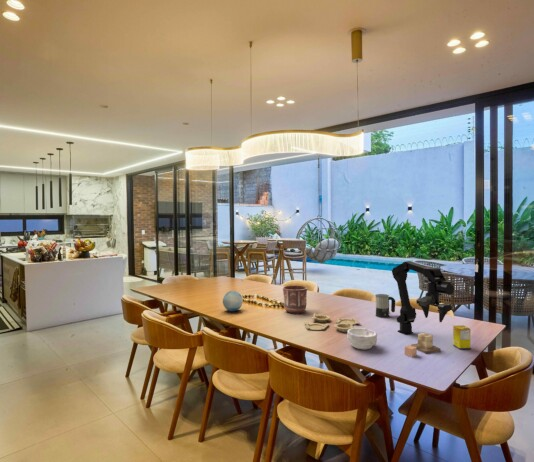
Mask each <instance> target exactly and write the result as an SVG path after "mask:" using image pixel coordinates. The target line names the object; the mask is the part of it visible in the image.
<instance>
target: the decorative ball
mask: <svg viewBox="0 0 534 462" xmlns="http://www.w3.org/2000/svg"><path fill="white" fill-rule="evenodd" d="M243 302H244V300H243V296H242V294H241V293H239V292H238V291H236V290H235V291H234V290H231V291H227V292H226V293H225V294H224V296H223V298H222V305H223V307H224V308H225V310H227V311H229V312H237V311H238V310H240V309H241V307H242V306H243Z"/></svg>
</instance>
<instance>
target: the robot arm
mask: <svg viewBox="0 0 534 462" xmlns="http://www.w3.org/2000/svg"><path fill="white" fill-rule="evenodd" d="M410 271H413V272H416V273H420V274H421V275H422V276H423V277H424V278H426V279H424V283H427V292H425V296H422V297H418V298H417V299H416V301H415V302H416V304H417V305H418V306H419V307H420V308H421V309H422V312H423V314H424V318H425V319H426V318H428V317H429V312H430V307H431V306H432V307H435V308H437V312H438V316H439V317H438V318H439V319H438V320H439V323H442V322H443V320H444V318H445V317H446V315H447V314H448V312H451V311H453V306H452V305H451V304H449V303H446V302H445V303H442V300H440V296H442V294H444V295H447V296H450V295H453V294H454V291H455V288H454V286H453V284H452V281H448V280H447V279H446V278H445V276H444V274H443V273H442V271H441V269H440V268H439V267H432V266H431V267H430V266H429V267H428V266H425V265H423V264H422V265H421V264H419V263H416V262H413V261H411V260H407V261H406V260H405V261H404V262H402V263H400V264H399V265H397V266H395V267H393V268H392V270H391V273H392V277H393V279H394V280H395V281H396V285H397V289H398V294H399V299H400V304H401V307H400V309H399V315H398V316H397V318H396V322H397V323H399V330H397V332H398V333H401V334H402V335H403V334H404V335H412V334H414V331H413V328H412V327H413V326H412V323H414V322H415V320H416V318H417V311H416V308H415V307H413V306H412V304H411V301H410V295H409V292H408V291H409V290H408V285H407V281H406V280H407V278H408V273H409V272H410Z"/></svg>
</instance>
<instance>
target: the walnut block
mask: <svg viewBox="0 0 534 462" xmlns="http://www.w3.org/2000/svg"><path fill="white" fill-rule="evenodd" d="M410 346H414V347H417V351H418V352H421V353H422V354H425V355H427V354H431V353H437V352H441V348H440V347H438V346H436V345H433V347H431V348H428V349H425V348H423V347H420V346H418V342H417V343H412V344H410Z"/></svg>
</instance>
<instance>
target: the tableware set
mask: <svg viewBox="0 0 534 462" xmlns="http://www.w3.org/2000/svg"><path fill="white" fill-rule="evenodd" d="M311 319H312V320H315V321H316V322H315V323H314V322H313V323H311V322H304V323H303V324H304V325H305V327H304V328H306V329H307V330H311V331H322V330H326V329H327V327H328V326H330V323H327V321H328V320H330V319H331V316H330V315H325V314H317V313H316V312H314V313H313V316H311ZM323 323H325V324H323ZM357 324H358V325H360V324H361V322H360V321H358V320H357V319H356V317H352V318H341V317H338V318H337V319H336V321H335V324H334V325H333V326H334V328H335V329H337V331H339V332H341V333H347V331H348V330H349V329H352V328H355V327H354V326H355V325H357Z"/></svg>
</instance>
